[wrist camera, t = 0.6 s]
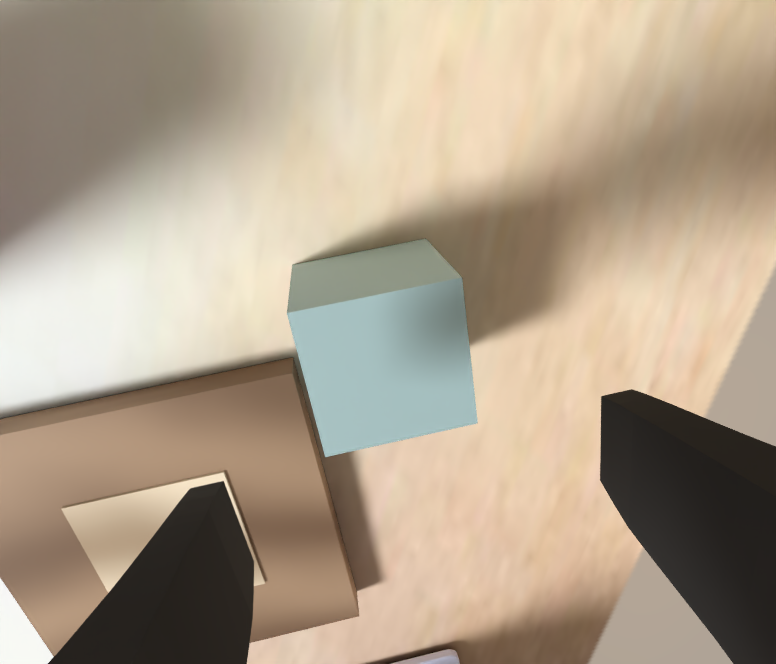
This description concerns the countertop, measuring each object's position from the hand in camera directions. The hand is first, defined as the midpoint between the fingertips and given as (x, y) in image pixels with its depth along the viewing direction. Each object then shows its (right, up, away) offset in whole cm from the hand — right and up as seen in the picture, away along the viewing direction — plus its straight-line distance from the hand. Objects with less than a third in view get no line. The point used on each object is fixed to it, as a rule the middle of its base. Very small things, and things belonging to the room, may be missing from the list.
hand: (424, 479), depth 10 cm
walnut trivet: (-9, -5, +10) cm, 14 cm away
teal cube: (-1, +3, +8) cm, 9 cm away
